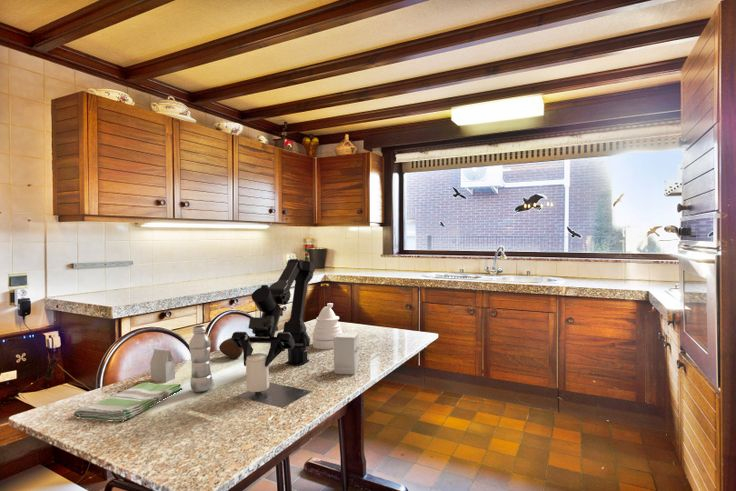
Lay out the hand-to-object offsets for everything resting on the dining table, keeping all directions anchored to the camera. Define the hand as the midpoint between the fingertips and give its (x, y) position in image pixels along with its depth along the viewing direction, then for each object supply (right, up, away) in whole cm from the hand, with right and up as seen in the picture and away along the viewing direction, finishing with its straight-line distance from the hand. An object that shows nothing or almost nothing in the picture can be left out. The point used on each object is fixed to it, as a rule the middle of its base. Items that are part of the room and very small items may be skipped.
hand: (255, 365), depth 120 cm
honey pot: (+16, -8, +56) cm, 59 cm away
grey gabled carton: (-36, -10, +18) cm, 42 cm away
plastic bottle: (-18, -10, +7) cm, 22 cm away
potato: (-20, -9, +41) cm, 47 cm away
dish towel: (-36, -11, -1) cm, 37 cm away
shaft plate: (+6, -9, 0) cm, 11 cm away
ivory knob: (0, -7, +2) cm, 7 cm away
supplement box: (+26, -8, +22) cm, 35 cm away
